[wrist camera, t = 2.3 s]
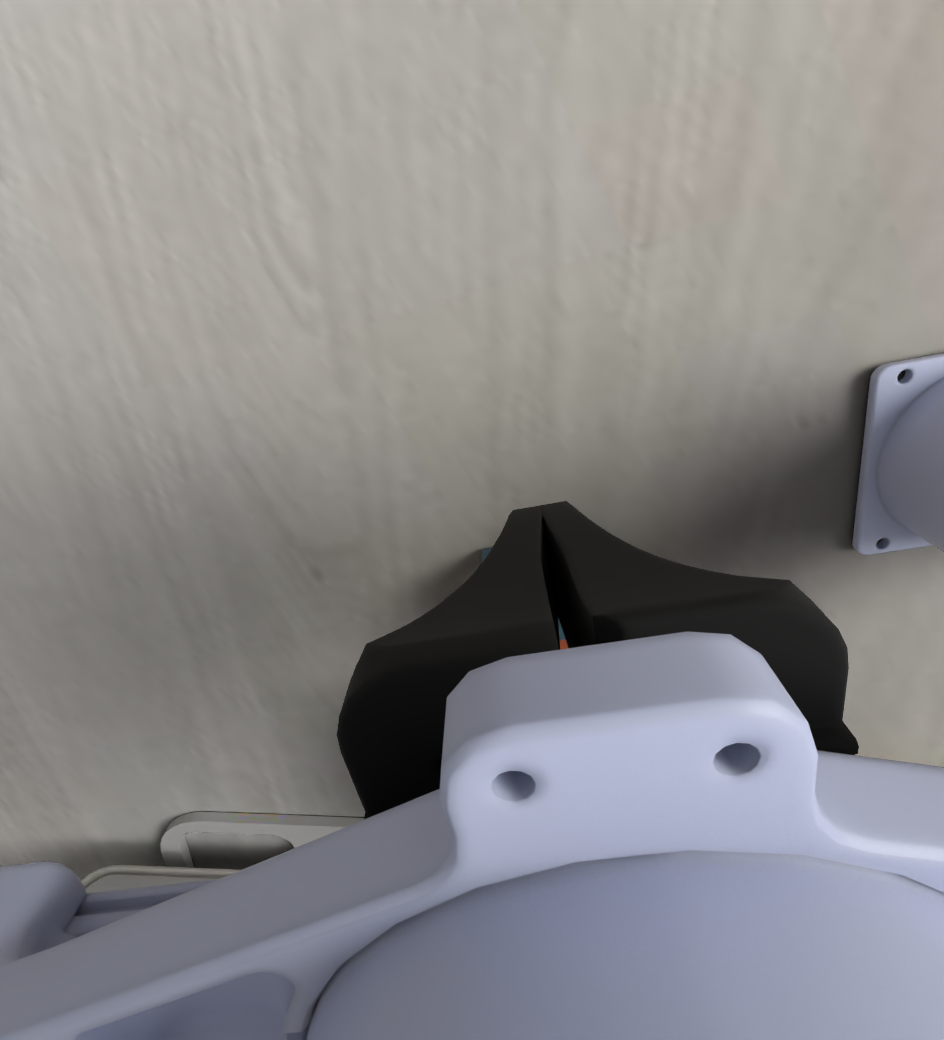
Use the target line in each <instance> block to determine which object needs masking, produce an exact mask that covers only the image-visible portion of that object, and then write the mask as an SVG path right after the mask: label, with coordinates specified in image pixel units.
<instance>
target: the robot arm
mask: <svg viewBox="0 0 944 1040" xmlns="http://www.w3.org/2000/svg"><path fill="white" fill-rule="evenodd" d="M903 370H905V375H904V377H903V378H902V379H901V380H899V381H898V380H897V377H898V375H899V373H900V372H901V371H903ZM882 538H883V540H882V541H881V542H880V543H879V544H876V543H877V541H878V540H879V539H882ZM852 544H853V548H854V549H855V550H856V551H857V552H858V553H859V554H862V555H872V554H879V553H886V552H892V551H899V550H905V549H912V548H919V547H925V546H932V545H934V546H935V547H937V548H938V549H940V550H941V551H943V552H944V353H941V354H936V355H930V356H925V357H919V358H914V359H908V360H903V361H898V362H892V363H887V364H884V365H881V366H879V367H878V368H877V369H875V371H874V372H873V373H872V375H871V379H870V386H869V395H868V404H867V414H866V423H865V432H864V441H863V451H862V460H861V469H860V478H859V488H858V497H857V506H856V515H855V525H854V534H853V543H852ZM558 618H559V621H560V624H561V627H562V630H563V633H564V637H565V640H566V643H567V646H568V649H561V650H560V637H559V623H558ZM847 676H848V652H847V646H846V644H845V642H844V640H843V638H842V636H841V634H840V631H839V630H838V628H837V627H836V626H835V625H834V624H833V623H832V622H831V621H830V620H829V619H828V618H827V617H826V616H825V614H824V613H823V612H822V611H821V610H820V609H819V608H818V607H817V606H816V605H815V604H814V602H813V601H812V600H811V599H810V598H809V597H807V596H806V595H805V594H804V593H803V592H802V591H801V590H800V589H799V588H797V587H796V586H795V585H794V584H793V583H792V582H791V581H790V580H780V579H768V578H756V577H744V576H736V575H730V574H724V573H718V572H712V571H707V570H703V569H698V568H694V567H690V566H686V565H683V564H679V563H676V562H672V561H669V560H666V559H663V558H660V557H657V556H655V555H653V554H650V553H648V552H645V551H643V550H640V549H638V548H636V547H634V546H632V545H630V544H628V543H626V542H624V541H622V540H620V539H619V538H617V537H615V536H613V535H611V534H610V533H608V532H607V531H605V530H604V529H602V528H601V527H599V526H598V525H596V524H595V523H593V522H592V521H591V520H589V519H588V518H587V517H586V516H584V515H583V514H582V513H581V512H579V511H578V510H577V509H576V508H574V507H573V506H572V505H571V504H569V503H568V502H567V501H564V502H558V503H553V504H547V505H541V506H535V507H529V508H523V509H517V510H513V511H512V512H511V514H510V515H509V517H508V520H507V522H506V524H505V526H504V528H503V530H502V532H501V534H500V536H499V538H498V539H497V541H496V543H495V544H494V546H493V548H492V549H491V551H490V552H489V554H488V555H487V557H486V558H485V559H484V561H483V562H482V564H481V565H480V566H479V568H478V569H477V570H476V571H475V573H474V574H473V575H472V576H471V577H470V578H469V579H468V580H467V581H466V582H465V583H464V584H463V585H462V586H461V587H460V588H459V589H458V590H456V591H455V592H454V593H453V594H451V595H450V596H449V597H448V598H446V599H445V600H444V601H443V602H441V603H440V604H439V605H438V606H436V607H435V608H433V609H432V610H430V611H429V612H427V613H426V614H424V615H423V616H421V617H419V618H418V619H416V620H414V621H413V622H411V623H409V624H407V625H406V626H404V627H402V628H400V629H398V630H396V631H393V632H391V633H389V634H387V635H385V636H383V637H381V638H379V639H376V640H374V641H372V642H369V643H367V644H366V646H365V648H364V650H363V653H362V655H361V657H360V659H359V661H358V663H357V665H356V668H355V670H354V673H353V675H352V678H351V680H350V683H349V687H348V690H347V693H346V696H345V700H344V703H343V706H342V709H341V713H340V716H339V723H338V730H337V737H338V741H339V746H340V750H341V754H342V756H343V759H344V761H345V764H346V766H347V768H348V771H349V773H350V776H351V778H352V781H353V783H354V785H355V788H356V790H357V793H358V795H359V798H360V800H361V803H362V805H363V807H364V810H365V816H364V820H362V821H360V822H357V823H355V824H352V825H350V826H347V827H345V828H343V829H340V830H338V831H335V832H333V833H330V834H328V835H326V836H323V837H321V838H318V839H316V840H313V841H311V842H308V843H306V844H304V845H301V846H299V847H296V848H294V849H291V850H289V851H286V852H284V853H282V854H279V855H277V856H274V857H272V858H269V859H267V860H265V861H262V862H260V863H257V864H255V865H252V866H250V867H247V868H245V869H243V870H240V871H238V872H235V873H233V874H230V875H228V876H226V877H223V878H221V879H215V880H206V881H197V882H188V883H178V884H169V885H160V886H151V887H142V888H132V889H123V890H114V891H105V892H96V893H86V890H85V888H84V886H83V884H82V882H81V881H80V879H79V878H78V876H77V875H76V874H75V873H74V872H73V871H72V870H71V869H69V868H68V867H67V866H65V865H62V864H59V863H57V862H46V861H43V862H34V863H26V864H17V865H8V866H0V1040H944V767H939V766H931V765H924V764H916V763H908V762H901V761H893V760H886V759H878V758H871V757H863V756H856V755H854V754H858V748H859V746H858V743H857V740H856V738H855V737H854V736H853V734H852V733H851V732H850V730H849V729H848V728H847V727H846V725H845V724H844V723H843V721H842V718H843V710H844V701H845V693H846V684H847Z"/></svg>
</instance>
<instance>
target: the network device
mask: <svg viewBox="0 0 944 1040" xmlns="http://www.w3.org/2000/svg"><path fill="white" fill-rule="evenodd" d="M362 820H364V818H352V817H327V816H302V815H277V814H252V813H227V812H193V813H188V814H185V815H182V816H180V817H178V818H176V819H175V820H174V821H172V822H171V823H170V825H169V826H168V828H167V830H166V831H165V833H164V835H163V837H162V839H161V844H160V847H161V853H162V856H163V859H164V862H165V865H166V867H159V866H135V865H110V866H106V867H103V868H100V869H98V870H95V871H94V872H92V873H90V874H89V875H87V876H86V877H84V878H83V879H82V880H81V882H82V884H83V886H84V888H85V890H86V893H96V892H105V891H114V890H123V889H132V888H142V887H151V886H160V885H169V884H178V883H188V882H197V881H206V880H215V879H221V878H223V877H226V876H228V875H230V874H233V873H235V872H238V871H240V870H234V869H209V868H194V866H193V862H192V859H191V856H190V852H189V849H188V845H187V842H186V838H185V835H186V834H188V833H193V832H202V833H227V834H252V835H273V836H278V837H282V838H284V839H286V840H287V841H289V842H290V843H291V844H292V845H293V847H294V848H296V847H299V846H301V845H304V844H306V843H308V842H311V841H313V840H316V839H318V838H321V837H323V836H326V835H328V834H330V833H333V832H335V831H338V830H340V829H343V828H345V827H347V826H350V825H352V824H355V823H357V822H360V821H362Z"/></svg>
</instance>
